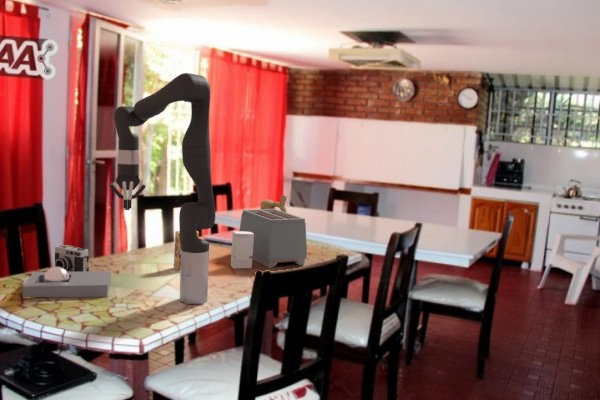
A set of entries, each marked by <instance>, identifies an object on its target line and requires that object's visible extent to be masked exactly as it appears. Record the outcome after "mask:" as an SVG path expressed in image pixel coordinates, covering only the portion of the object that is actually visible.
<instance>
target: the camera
mask: <svg viewBox="0 0 600 400" xmlns="http://www.w3.org/2000/svg"><path fill="white" fill-rule="evenodd" d="M89 257H90V255H89V249H87V248H84V247H83V248H82V247H76V246H73V245H67V244H66V245H64V244H62V245H56V246H54V267H62V268H64V269H65V270H66V271H67V272H87V271H89V267H90V266H89V265H90V263H89Z"/></svg>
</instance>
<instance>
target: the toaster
mask: <svg viewBox="0 0 600 400" xmlns="http://www.w3.org/2000/svg"><path fill="white" fill-rule="evenodd" d="M306 224H307V223H306V219H305V217H300V216H297V215H295V214H291V213H289V212H286V213H285V212H282V211H281V210H278V209H261V208H260V209H259V208H258V209H257V208H256V209H242V212H241V217H240V223H239V231H244V232H252V233H253V234H254V242H253V255H252V261H255V262H256V263H258V264H261V265H262V266H263V267H264V266H265V267H266V268H268V269H270V268H271V269H272V268H274V267H276V266H277V264H278V263H289V262H292V263H293V262H294V263H293V264H296V265H298V266H304V265H305V260H306V259H307V256H308V253H307V252H308V250H307V249H308V248H307V229H306V228H307V227H306V226H307V225H306Z"/></svg>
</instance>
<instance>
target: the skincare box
mask: <svg viewBox="0 0 600 400" xmlns="http://www.w3.org/2000/svg"><path fill="white" fill-rule="evenodd" d="M231 238H232V239H231V252H230V253H231V254H230V267H231V268H232V269H235V270H237V269H252V267H253V260H252V255H253V242H254V234H253V233H252V232H244V231H238V230H235V231H234V230H233V231H232V237H231Z"/></svg>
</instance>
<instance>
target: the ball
mask: <svg viewBox="0 0 600 400" xmlns="http://www.w3.org/2000/svg"><path fill="white" fill-rule="evenodd" d="M45 272H46V273H45V276H44V283H49V282H69V274H68V272H67V271H66V270H65V269H64V268H62V267H55V266H53V267H51V268H49V269H48V270H47V271H45Z"/></svg>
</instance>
